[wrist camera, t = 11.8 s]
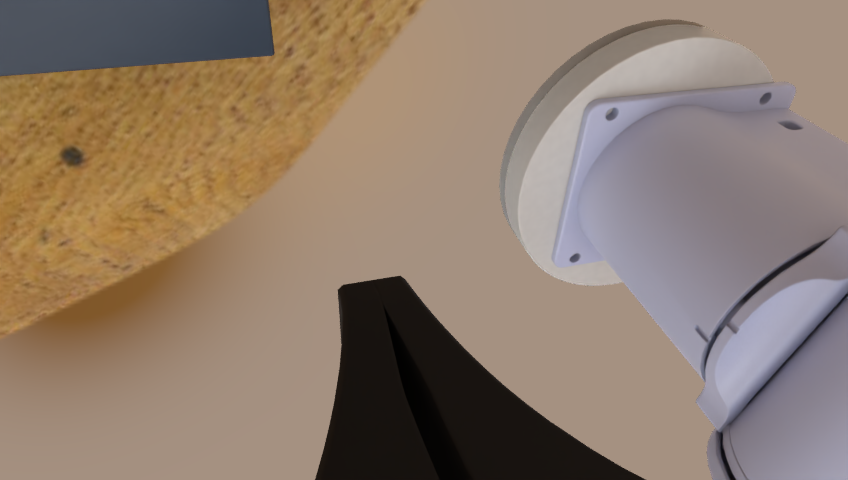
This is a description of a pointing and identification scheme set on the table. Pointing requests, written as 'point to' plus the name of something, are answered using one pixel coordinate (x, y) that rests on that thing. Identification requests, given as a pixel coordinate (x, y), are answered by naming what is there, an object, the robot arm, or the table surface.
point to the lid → (128, 33)
